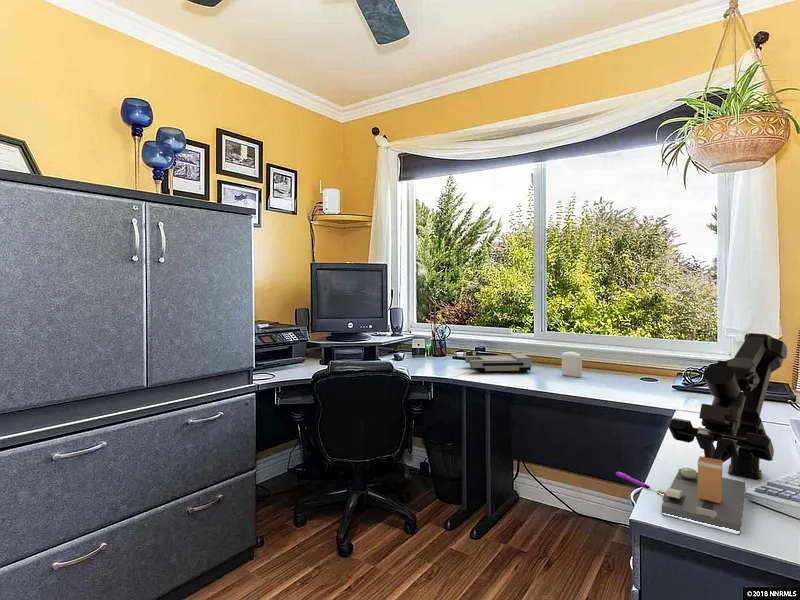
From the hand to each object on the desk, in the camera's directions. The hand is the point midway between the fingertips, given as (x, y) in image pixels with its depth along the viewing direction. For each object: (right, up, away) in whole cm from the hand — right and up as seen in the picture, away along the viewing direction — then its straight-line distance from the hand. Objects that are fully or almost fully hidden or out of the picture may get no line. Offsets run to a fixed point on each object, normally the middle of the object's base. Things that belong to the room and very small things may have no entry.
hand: (708, 471), depth 100 cm
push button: (+2, -5, +10) cm, 11 cm away
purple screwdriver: (-8, -8, +10) cm, 15 cm away
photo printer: (+22, -3, +141) cm, 143 cm away
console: (0, -7, +2) cm, 7 cm away
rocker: (-8, -5, -1) cm, 9 cm away
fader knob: (-1, -5, -2) cm, 5 cm away
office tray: (-12, -3, +158) cm, 159 cm away
